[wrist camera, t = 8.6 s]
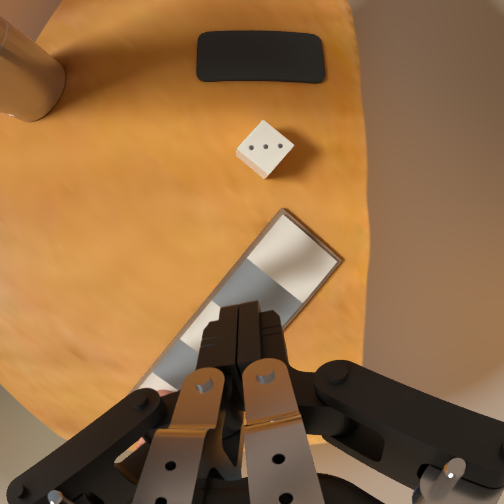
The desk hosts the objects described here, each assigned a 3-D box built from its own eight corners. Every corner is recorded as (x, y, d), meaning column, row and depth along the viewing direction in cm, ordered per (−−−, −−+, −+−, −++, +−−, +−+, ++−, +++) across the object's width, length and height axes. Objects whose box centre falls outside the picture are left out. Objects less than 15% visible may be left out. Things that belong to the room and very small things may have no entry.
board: (126, 396, 35) (124, 400, 34) (281, 208, 34) (282, 207, 33) (181, 432, 37) (180, 436, 36) (340, 259, 35) (343, 261, 34)
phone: (198, 31, 30) (320, 34, 31) (199, 35, 31) (318, 37, 32) (195, 81, 31) (326, 83, 32) (196, 84, 32) (324, 85, 32)
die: (236, 156, 33) (236, 148, 29) (259, 129, 33) (263, 119, 28) (265, 179, 33) (269, 175, 29) (288, 153, 33) (295, 145, 29)
